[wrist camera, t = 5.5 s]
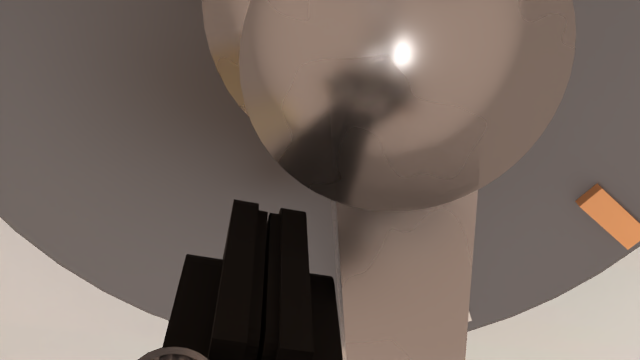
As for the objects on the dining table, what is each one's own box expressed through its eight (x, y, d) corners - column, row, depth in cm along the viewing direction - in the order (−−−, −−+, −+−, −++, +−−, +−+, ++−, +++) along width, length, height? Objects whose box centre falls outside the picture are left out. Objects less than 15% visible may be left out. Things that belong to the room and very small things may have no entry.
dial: (189, -171, 12) (114, -188, 7) (528, -198, 12) (704, -237, 7) (271, 355, 19) (265, 531, 14) (479, 337, 19) (545, 507, 14)
